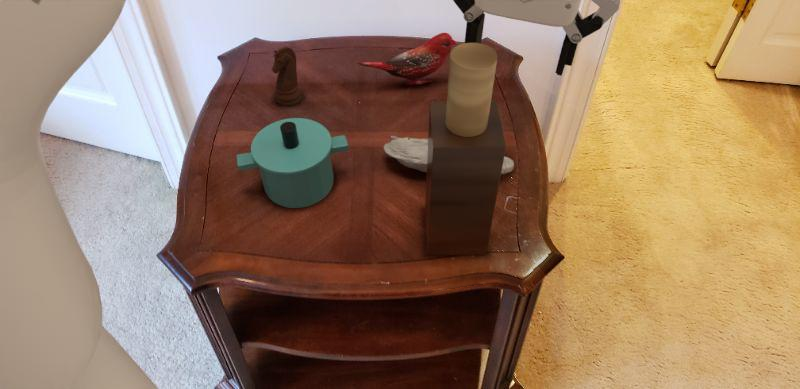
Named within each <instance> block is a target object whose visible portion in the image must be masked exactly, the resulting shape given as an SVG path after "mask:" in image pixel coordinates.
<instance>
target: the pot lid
mask: <svg viewBox="0 0 800 389" xmlns="http://www.w3.org/2000/svg"><path fill="white" fill-rule="evenodd" d="M331 137H332V136H331V133H330V132H329V130H328V129H327V127H325V126H324V125H323V124H321V123H320V122H318V121H315V120H312V119H309V118H302V117H290V118H284V119H281V120H277V121H274V122H272V123H270V124H268V125H266V126H265V127H263V128H262V129H260V130H259V132H257V134H256V135H255V136H254V137H253V139H252V142H251V145H250V152H251V154H252V157H253V159H254V161H255V162H256V164H257V165H258V166H259V167H261V168H262V169H264V170H266V171H268V172H271V173H275V174H281V175H291V174H298V173H302V172H305V171H308V170H311V169H313V168H315V167H316V166H318V165H319V164H321V163H322V162H323V161H324V160H325V159H326V158H327V156H328V155H329V153H330V151H331V147H332V140H331ZM330 154H331V153H330ZM259 167H258V168H259Z"/></svg>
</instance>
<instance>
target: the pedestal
mask: <svg viewBox="0 0 800 389" xmlns="http://www.w3.org/2000/svg"><path fill="white" fill-rule="evenodd" d="M446 106H447V101H429V110H428V111H429V112H428V132H427V134H428V136H427V140H428V155H427V173H426V182H425V183H426V184H425V202H424V204H425V205H424V216H425V217H424V218H425V234H426V235H425V236H426V252H427V253H426V255H427V256H486V255H487V252H488V246H489V241H490V237H491V236H490V235H491V230H492V225H493V218H494V214H495V209H496V204H497V199H498V198H497V197H498V194H499V189H500V188H499V187H500V182H501V176H502V174H501V172H502V166H503V161H504V156H505V157H506V149H507V144H506V139H505V135H504V134H505V133H504V130H503V125H502V124H503V123H502V120H501V114H500V110H499V105H498V101H497V100H491V105H490V112H489V119H488V125H487V128H486V130H485V131H484V132H483V133H482V134H480V135H477V136H473V137H462V136H458V135H456V134H454V133H452V132H451V131H450V130H449V129H448V128H447V126H446V123H445V120H446Z"/></svg>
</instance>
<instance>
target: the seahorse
mask: <svg viewBox="0 0 800 389" xmlns="http://www.w3.org/2000/svg"><path fill="white" fill-rule="evenodd" d="M390 139H391V141H389V142H387V143H385V144H384V145H383V150H384V153H385V154H386V155H387V156H388V157H389V158H393V159H395V160H396V161H397V162H399V163H400V164H401V165H403V166H404V167H406V168H410V169H413V170H417V171H420V172H424V173H426V174H427V155H428V138H424V137H423V138H416V137H415V138H414V137H409V136H405V137H398V136H396V135H390ZM514 166H515V163H514V160H513V159H512V158H509V157H507V156H506V155H505V156H504V161H503V166H502V172H501V175H503V176H505V175H506V174H508V173H512V172H513V170H514Z"/></svg>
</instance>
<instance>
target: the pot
mask: <svg viewBox="0 0 800 389" xmlns="http://www.w3.org/2000/svg"><path fill="white" fill-rule="evenodd" d="M331 140H332V147H331V151H330V153H329V155H328V156H327V158H326V159H325V160H324V161H323V162H322V163H321V164H319V165H318V166H316V167H315V168H313V169H311V170H308V171H305V172H302V173H298V174H291V175H281V174H275V173H271V172H268V171H266V170H264V169H262V168H261V167H259V166H258V165H257V164H256V162H255V161H254V159H253V157H252V154H251V151H249V152H245V153H240V154H236V164H237V165H236V166H237V168H238V171H239V172H241V171H242V172H243V171H247V170H252V169H257V168H258V170H259V175H260V179H261V183H262V186H263V189H264V192H265V194H266V196H267V197H268V198H269V199H270V201H271V202H273V203H275V204H276V205H278V206H281V207H284V208H288V209H289V208H290V209H301V208H306V207H310V206H313V205H315V204H317V203H319V202H321V201H322V200H323V199H325V198H326V197H327V196H328V195H329V193H330V192H331V191H332V188H333V185H334V178H335V177H334V171H333V164H332V163H333V162H332V157H331V154H334V153H340V152H345V151H349V143H348V140H347V138H346V135H345V134H342V135H336V136H331Z"/></svg>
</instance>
